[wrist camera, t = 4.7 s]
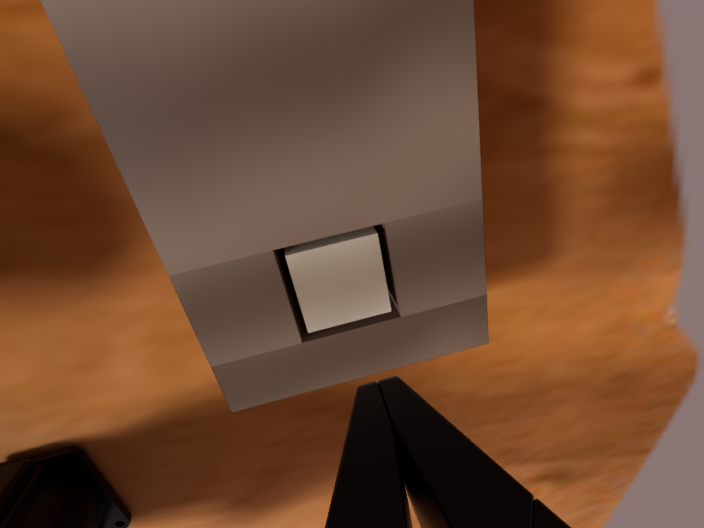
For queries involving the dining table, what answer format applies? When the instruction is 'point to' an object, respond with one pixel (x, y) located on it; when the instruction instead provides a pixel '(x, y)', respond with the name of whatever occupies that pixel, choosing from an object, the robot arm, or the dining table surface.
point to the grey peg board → (295, 168)
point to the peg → (339, 278)
